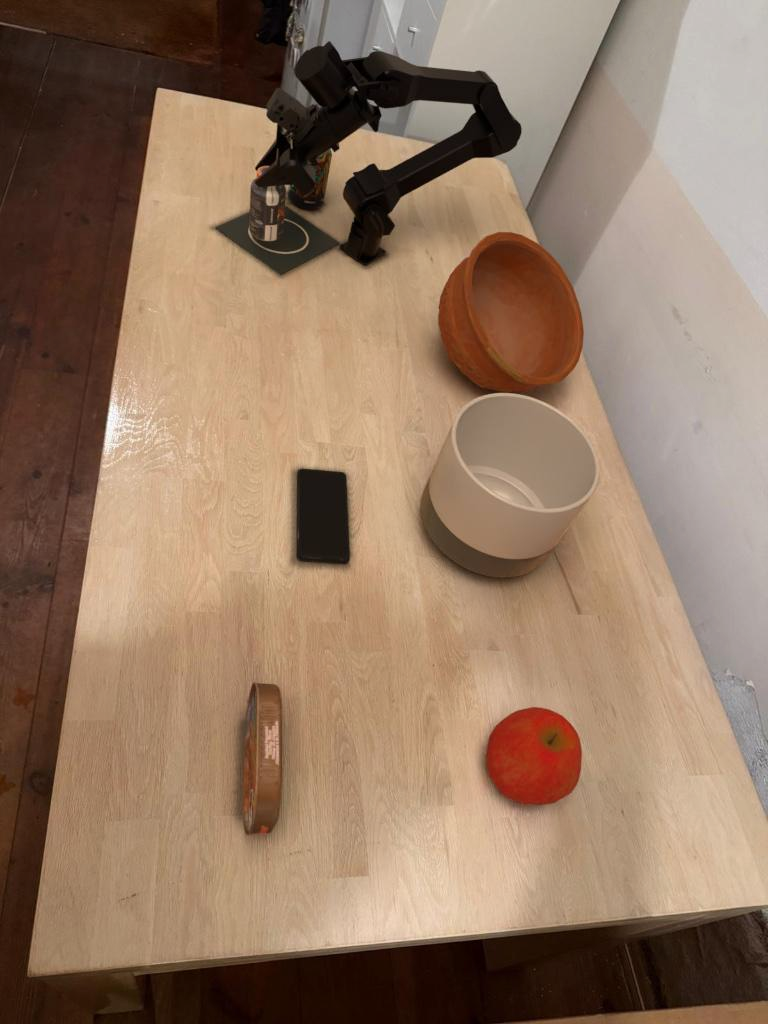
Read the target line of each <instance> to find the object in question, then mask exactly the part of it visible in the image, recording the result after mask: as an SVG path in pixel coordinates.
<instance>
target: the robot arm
mask: <svg viewBox="0 0 768 1024" xmlns="http://www.w3.org/2000/svg"><path fill="white" fill-rule="evenodd" d="M294 75H295V78H296V79H297V80H298V81H299V83H300V84H301V86H303V88H304V89H305V90H306V91H307V93H308V94H309V95H310V96H311V97H312V99H313V100H314V101H315V102H316V104H314V103H313V104H311V105H310V106H308V107H306V106H305V105H304V104H302V102H301V101H299V100H298V99H297V98H295V97H294V96H292V95H291V94H290V93H288V92H286V91H285V90H283V89H282V88H280V87H276V88H275V90H274V92H273V94H272V95H271V97H269V98H270V99H269V100H268V102H267V103H266V114H265V115H266V118H267V119H268V120H269V121H270V122H271V123H273V124H276V134H275V139H274V141H273V142H272V144H271V145H270V147H269V148H268V149H267V150H266V152H265V154H264V155H263V156H262V158H261V159H260V160H259V162H258V163H257V164H256V165H255V167H254V170H255V171H256V172H257V170H258V168H260V167H262V166H270V167H269V168H268V169H267V170H265V171H264V172H263V173H262V174H261V175H260V176H259V177H258V178H257V177H256V178H257V180H256V181H255V184H256V185H257V186H258V187H269V186H279V185H285V186H289V185H294V186H295V187H296V189H297V190H298V191H299V192H300V194H301V195H302V196H303V197H306V196H308V195H309V194H311V193H312V192H314V190H315V184H316V182H315V171H314V170H313V169H312V168H311V166H310V165H309V164H308V162H307V161H310V163H311V164H312V165H313V167H314V166H316V165H317V164H319V161H318V157H320V156H321V155H323V154H324V153H325V152H327V151H328V150H330V149H331V151H332V152H334V153H336V152H337V151H339V150H340V148H341V147H340V143H342V142H343V141H344V140H346V139H347V138H348V137H350V136H352V135H353V134H354V133H355V132H358V130H360V129H362V128H364V126H366V125H367V124H368V126H369V127H370V129H371V130H372V131H373V132H374V133H378V131H379V127H380V121H381V118H382V115H383V114H382V112H381V109H385V110H386V109H387V110H388V109H395V108H403V107H406V106H407V105H409V104H411V103H414V102H419V101H421V102H423V101H424V102H434V103H435V102H436V103H447V104H449V103H450V104H462V105H472V108H473V110H474V112H473V113H472V114H471V115H470V117H469V118H468V119H467V121H466V123H465V124H464V125H463V127H462V129H460V130H459V131H457V132H455V133H453V134H452V135H450V136H448V137H446V138H445V139H442V140H441V141H439V142H436V143H435V144H433V145H432V146H430V147H427V148H426V149H424V150H422V151H420V152H419V153H417V154H415V155H412V156H410V157H409V158H407V159H405V160H404V161H402V162H399V163H398V164H396V165H394V166H393V167H391V168H389V169H379V168H378V166H377V165H376V163H371V164H368V165H367V166H366V167H364V168H362V169H360V170H358V171H353V172H352V175H353V176H350V178H348V179H347V181H345V182H344V183H345V184H344V187H343V190H342V197H343V200H344V201H345V204H346V205H347V206H348V208H349V210H350V211H351V213H352V214H353V221H352V222H351V225H350V230H349V233H348V236H347V241H345V242H343V243H340V244H339V249H340V250H341V251H342V252H344V253H346V254H347V255H349V256H350V257H351V258H353V259H354V260H356V261H357V262H358V263H360V264H362V265H363V266H368V265H369V264H371V263H373V262H375V261H377V260H378V259H380V258H381V257H383V256H385V255H386V253H387V251H386V250H385V249H383V248H382V247H381V244H382V240H383V237H384V236H391V234H392V232H393V230H394V229H395V227H396V224H395V223H394V221H393V219H392V218H391V217H390V215H389V214H391V213H392V212H393V211H394V209H395V208H396V206H397V205H398V203H399V201H400V200H401V198H403V197H404V196H406V195H408V194H410V193H411V192H413V191H415V190H418V189H419V188H421V187H423V186H425V185H427V184H428V183H430V182H432V181H434V180H436V179H438V178H440V177H441V176H444V175H445V174H447V173H449V172H450V171H452V170H454V169H456V168H458V167H460V166H462V165H464V164H465V163H467V162H469V161H471V160H473V159H493V158H496V157H498V156H501V155H504V154H507V153H509V152H511V151H512V150H514V149H515V148H516V147H517V146H518V143H519V140H520V139H521V136H522V129H523V128H522V124H521V123H520V122H519V121H518V120H517V118H516V117H515V116H514V115H513V114H512V113H511V112H510V110H509V108H508V106H507V105H506V103H505V100H504V98H503V97H502V95H501V92H500V89H499V86H498V84H497V83H496V82H495V81H494V80H493V79H492V78H491V77H490V75H489V74H488V73H487V71H484V70H475V71H472V70H471V71H470V70H461V69H451V68H440V67H432V66H431V67H430V66H421V65H416V64H413V63H411V62H409V61H407V60H405V59H403V58H402V57H399V56H397V55H394V54H391V53H388V52H385V51H382V50H376V51H375V50H374V51H372V52H370V53H369V54H368V56H363V57H357V58H355V57H354V58H349V59H348V58H347V59H342V58H341V55H340V53H339V51H338V50H337V48H336V47H335V46H334V44H333V43H332V42H331V40H330V41H329V40H327V42H326V43H325V44H324V45H317V46H314V47H312V48H310V49H306V50H305V51H304V52H303V53H302V54H301V55H300V56H299V58H298V59H297V61H296V64H295V67H294ZM354 88H355V89H356V90H355V89H354ZM370 101H372V102H373V103H374V104H375V105H374V104H371V102H370Z"/></svg>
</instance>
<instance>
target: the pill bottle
mask: <svg viewBox="0 0 768 1024" xmlns="http://www.w3.org/2000/svg"><path fill="white" fill-rule="evenodd" d="M269 167H270V166H262V167H260V168H258V170H257V171H256V178H254V179H253V180H252V181H251V184H250V192H249V194H250V195H249V212H250V219H249V230H250V233H251V234H252V235H253V236H254V237H256V238H257V239H260V240H263V241H274V240H277V239H279V238H280V237H281V236H282V235H283V228H284V213H285V206H286V200H287V199H286V198H287V188H286V185H279V186H269V187H258V186H257V185H256V184H255V181H256V180H257V178H258V177H259V176H260V175H261V174H262V173H263V172H264V171H265V170H267V169H268V168H269Z"/></svg>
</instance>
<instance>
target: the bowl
mask: <svg viewBox="0 0 768 1024" xmlns="http://www.w3.org/2000/svg"><path fill="white" fill-rule="evenodd" d="M441 291H442V292H441V294H440V297H439V301H438V302H439V304H438V313H437V315H438V316H437V323H438V324H437V325H438V329H439V333H440V334H439V335H440V337H441V340H442V345H443V347H444V349H445V353H446V355H447V356H448V358H449V360H450V361H452V362H453V363H454V365H456V367H457V368H458V369H459V371H460V372H461V373H462V374H463V375H464V376H466V377H467V378H468V379H469V380H470V381H471V382H473V384H475V385H476V386H478V387H480V388H482V389H488V390H494V391H495V392H501V393H514V392H515V393H520V392H527V391H531V390H533V389H534V388H536V387H540V386H551V385H554V384H557V383H559V382H561V381H563V380H564V379H565V378H567V376H568V375H570V374H571V373H572V372H573V371H574V370H575V368H576V366H577V364H578V362H579V361H580V359H581V354H582V350H583V347H584V346H583V345H584V335H585V331H584V323H583V316H582V311H581V307H580V302H579V300H578V297H577V294H576V291H575V289H574V287H573V285H572V283H571V280H570V279H569V278H568V276H567V274H566V273H565V271H564V269H563V267H562V265H561V264H560V263H559V262H558V261H557V260H556V259H555V257H554V256H553V255H552V254H551V253H550V252H549V251H547V250H546V249H545V248H544V247H543V246H542V245H540V244H539V243H538V242H536V241H534V240H532V239H531V238H528V237H527V236H525V235H523V234H520V233H516V232H512V231H511V232H510V231H497V232H495V233H492V234H489V235H486V236H485V237H483V238H482V239H481V240H479V242H478V243H477V244H476V245H475V247H473V249H471V252H470V254H469V256H468V257H465V258H464V259H462V261H461V262H460V263H459V264H457V265H456V266H455V268H454V269H453V270H452V272H451V273H450V275H449V276H448V279H447V280H446V283H445V285H444V287H443V289H442V290H441Z"/></svg>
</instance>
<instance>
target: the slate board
mask: <svg viewBox="0 0 768 1024" xmlns="http://www.w3.org/2000/svg"><path fill="white" fill-rule="evenodd" d="M249 219H250V211H248V212H247V213H244V214H242V215H239V216H237V217H234V218H233V219H231V220H228V221H226V222H223V223H221V224H219V225H217V226H215V227H214V229H215V230H217V231H218V232H220V233H221V234H222V235H224V236H225V237H227V238H228V239H229V240H231V241H232V242H234V244H236V245H238V246H239V247H240V248H242V249H244V250H245V251H247V252H248V253H249V254H250V255H252V256H253V257H255V258H256V259H257V260H259V261H260V262H262V263H263V264H265V265H266V266H267V267H269V268H270V269H271V270H273V271H274V272H275V273H277V274H279V275H280V276H282V275H284V274H285V273H288V272H290V271H291V270H293V269H296V268H297V267H299V266H301V265H303V264H305V263H307V262H308V261H310V260H312V259H315V258H316V257H318V256H320V255H322V254H324V253H326V252H327V251H329V250H332V249H333V248H335V247H337V246H338V245H339V246H340V245H341V243H340V242H339V241H338V240H336V239H335V238H333V237H332V236H331V235H329V234H327V233H326V232H324V231H323V230H321V229H320V228H319V227H317V226H315V225H314V224H313V223H311V222H310V221H308V220H307V219H306V218H304V217H302V216H301V215H299V214H298V213H297V212H295V211H294V210H292V209H291V208H289V207H288V206H286V205H285V213H284V228H283V235H282V236H281V237H280V238H279V239H277V240H274V241H263V240H260V239H257V238H256V237H254V236H253V235H252V234H251V233H250V230H249Z"/></svg>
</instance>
